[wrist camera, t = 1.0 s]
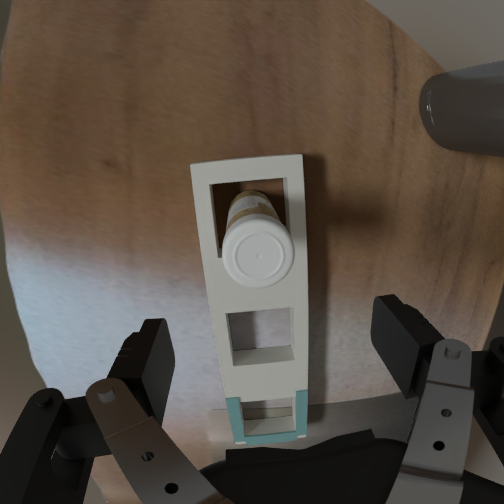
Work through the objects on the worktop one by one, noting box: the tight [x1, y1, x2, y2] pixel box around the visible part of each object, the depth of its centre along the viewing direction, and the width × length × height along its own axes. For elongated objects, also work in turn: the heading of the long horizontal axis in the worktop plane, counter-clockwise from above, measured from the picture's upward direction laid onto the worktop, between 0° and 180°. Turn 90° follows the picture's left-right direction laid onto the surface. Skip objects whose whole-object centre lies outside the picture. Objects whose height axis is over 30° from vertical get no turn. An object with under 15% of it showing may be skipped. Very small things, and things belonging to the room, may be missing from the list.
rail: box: [190, 154, 308, 445], centre depth 35 cm, size 10×37×3 cm, turn 5°
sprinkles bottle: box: [222, 191, 295, 288], centre depth 26 cm, size 5×5×13 cm
